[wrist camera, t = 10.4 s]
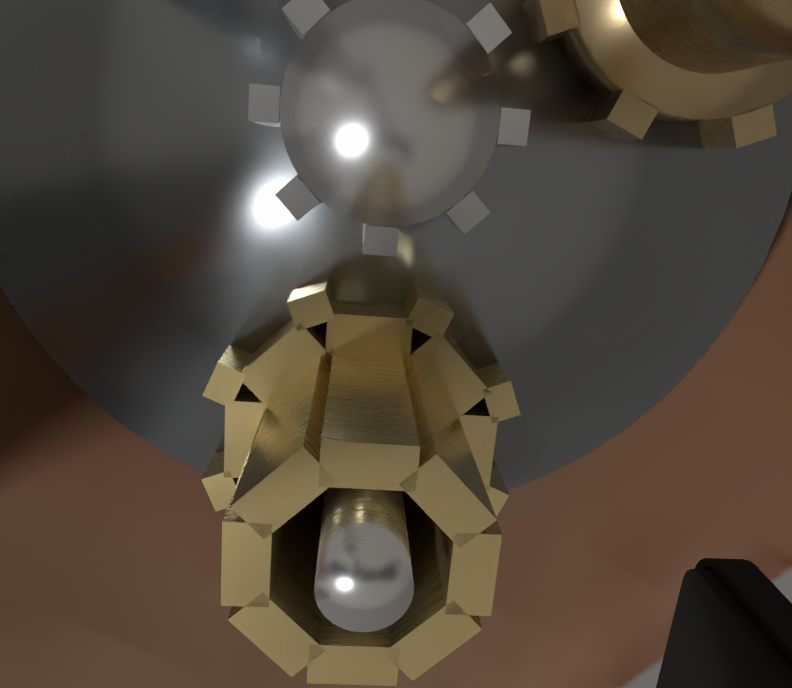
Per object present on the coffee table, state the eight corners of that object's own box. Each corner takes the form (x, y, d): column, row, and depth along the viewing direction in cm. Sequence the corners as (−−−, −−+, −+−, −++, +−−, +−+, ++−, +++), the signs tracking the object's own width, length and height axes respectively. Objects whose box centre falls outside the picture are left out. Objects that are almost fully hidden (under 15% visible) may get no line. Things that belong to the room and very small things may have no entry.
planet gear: (216, 270, 16) (128, 341, 10) (521, 292, 17) (614, 372, 11) (213, 543, 18) (136, 745, 12) (485, 555, 19) (547, 754, 13)
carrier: (-77, -451, 14) (-689, -1300, 6) (886, -312, 15) (1474, -831, 7) (-7, 469, 19) (-273, 698, 11) (701, 508, 20) (919, 734, 12)
